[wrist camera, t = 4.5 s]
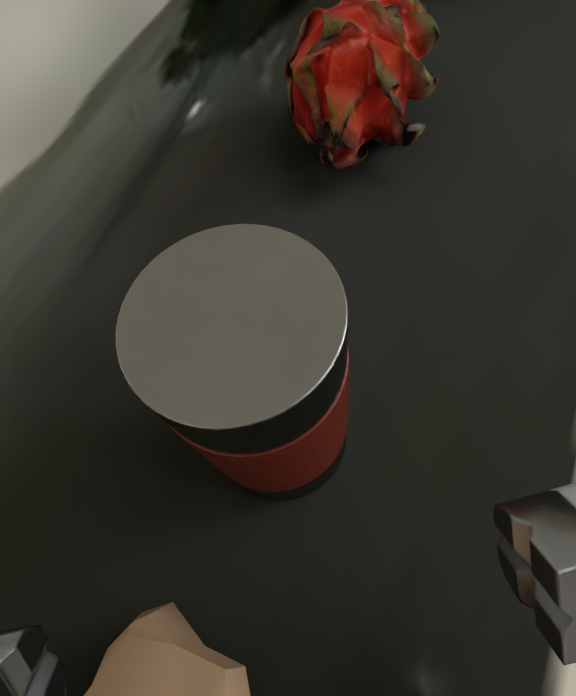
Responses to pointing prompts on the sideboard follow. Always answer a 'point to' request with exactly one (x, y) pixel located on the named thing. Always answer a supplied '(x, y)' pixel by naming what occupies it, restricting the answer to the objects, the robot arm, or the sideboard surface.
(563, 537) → the robot arm
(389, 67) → the dragon fruit
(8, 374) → the sideboard surface
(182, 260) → the tin
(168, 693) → the squash
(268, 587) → the sideboard surface
